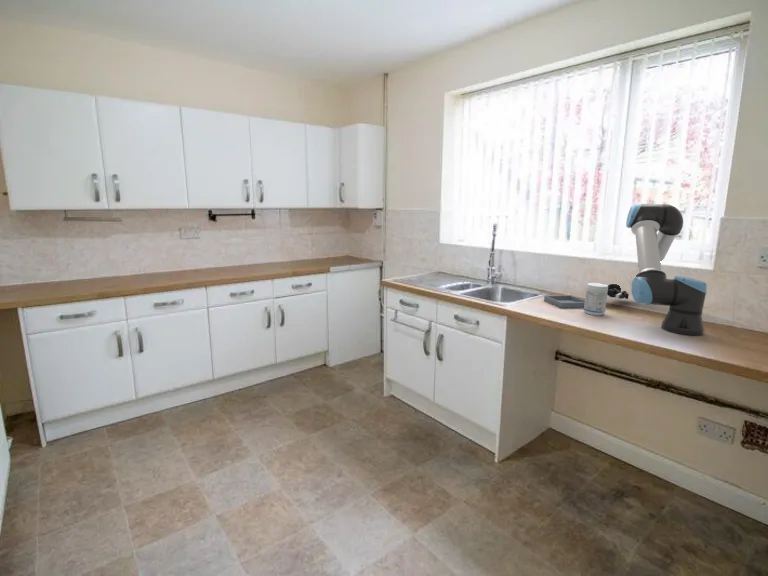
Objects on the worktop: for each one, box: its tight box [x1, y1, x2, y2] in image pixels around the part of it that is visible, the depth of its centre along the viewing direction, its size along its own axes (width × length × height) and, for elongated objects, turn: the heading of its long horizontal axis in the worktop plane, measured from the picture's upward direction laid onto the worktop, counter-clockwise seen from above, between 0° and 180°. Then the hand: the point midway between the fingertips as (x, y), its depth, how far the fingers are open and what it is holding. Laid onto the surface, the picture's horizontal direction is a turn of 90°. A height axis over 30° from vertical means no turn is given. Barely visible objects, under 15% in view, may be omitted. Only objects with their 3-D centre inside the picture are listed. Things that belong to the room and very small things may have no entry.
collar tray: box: [543, 294, 585, 309], centre depth 223 cm, size 17×17×3 cm
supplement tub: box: [583, 282, 609, 316], centre depth 205 cm, size 10×10×15 cm
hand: (601, 295), depth 211 cm, fingers open, 13 cm apart
